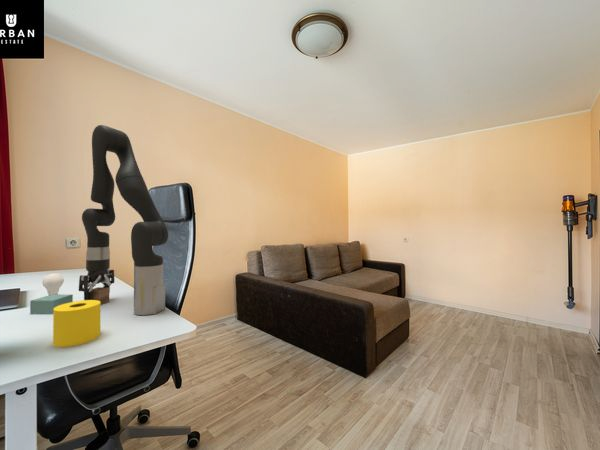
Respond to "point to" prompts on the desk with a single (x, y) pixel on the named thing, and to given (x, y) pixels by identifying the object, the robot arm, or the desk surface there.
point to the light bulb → (53, 283)
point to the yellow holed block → (76, 323)
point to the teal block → (48, 303)
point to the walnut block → (100, 294)
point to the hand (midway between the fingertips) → (97, 297)
